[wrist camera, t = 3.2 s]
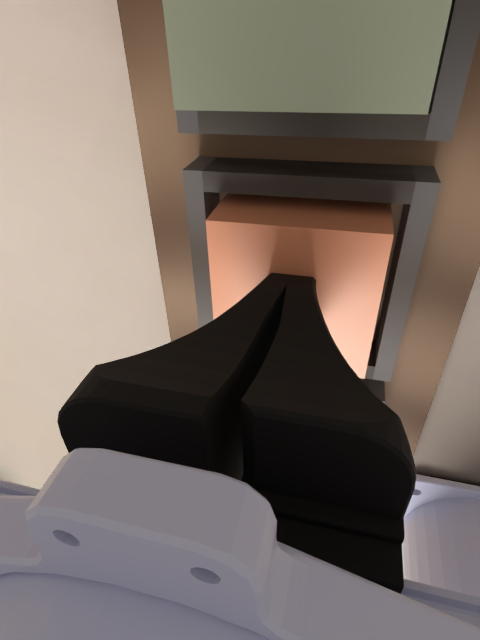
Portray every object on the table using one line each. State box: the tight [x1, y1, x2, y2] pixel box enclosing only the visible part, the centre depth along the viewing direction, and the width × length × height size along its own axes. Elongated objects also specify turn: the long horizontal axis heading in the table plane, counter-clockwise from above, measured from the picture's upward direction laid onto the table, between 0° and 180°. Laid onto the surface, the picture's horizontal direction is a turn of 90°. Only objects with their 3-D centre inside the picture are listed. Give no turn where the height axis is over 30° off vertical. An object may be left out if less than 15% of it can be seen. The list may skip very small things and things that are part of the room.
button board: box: [117, 0, 480, 456], centre depth 15 cm, size 24×11×3 cm, turn 2°
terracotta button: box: [206, 193, 394, 379], centre depth 14 cm, size 5×5×2 cm
